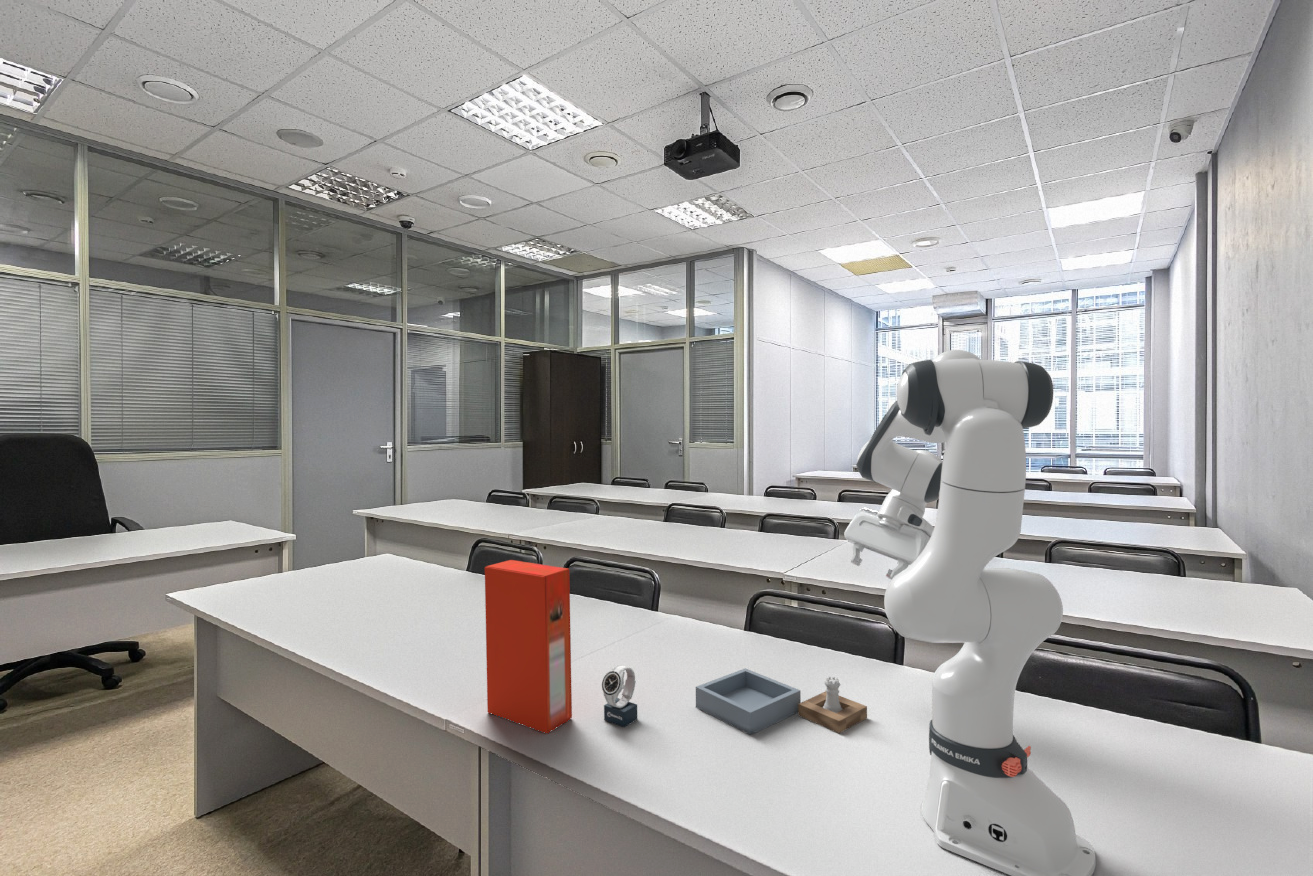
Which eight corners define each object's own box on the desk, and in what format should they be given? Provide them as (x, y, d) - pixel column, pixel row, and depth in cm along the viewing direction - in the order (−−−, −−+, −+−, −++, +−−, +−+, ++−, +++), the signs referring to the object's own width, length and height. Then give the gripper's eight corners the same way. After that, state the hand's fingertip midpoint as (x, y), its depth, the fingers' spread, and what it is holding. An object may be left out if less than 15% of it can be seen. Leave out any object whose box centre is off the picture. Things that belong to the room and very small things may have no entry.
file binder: (545, 735, 121) (543, 576, 121) (486, 713, 130) (484, 566, 130) (571, 718, 128) (570, 568, 128) (514, 699, 137) (512, 559, 137)
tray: (800, 711, 130) (800, 690, 130) (750, 735, 120) (750, 712, 120) (745, 687, 143) (745, 668, 143) (695, 707, 133) (695, 686, 133)
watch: (597, 723, 126) (597, 671, 126) (622, 709, 132) (622, 659, 132) (618, 731, 122) (618, 677, 122) (642, 716, 129) (642, 664, 129)
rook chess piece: (826, 710, 131) (826, 673, 131) (847, 716, 128) (846, 678, 128) (818, 717, 127) (817, 680, 127) (838, 724, 124) (838, 685, 124)
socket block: (867, 718, 127) (867, 706, 127) (839, 733, 121) (839, 721, 121) (826, 701, 135) (826, 690, 135) (798, 715, 128) (798, 703, 128)
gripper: (854, 499, 144) (828, 551, 142) (933, 524, 127) (905, 582, 125) (867, 511, 148) (841, 561, 145) (946, 536, 131) (918, 593, 129)
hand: (871, 571), depth 135 cm, fingers open, 8 cm apart
